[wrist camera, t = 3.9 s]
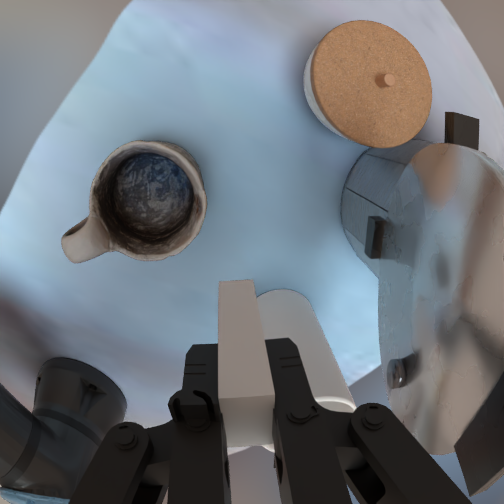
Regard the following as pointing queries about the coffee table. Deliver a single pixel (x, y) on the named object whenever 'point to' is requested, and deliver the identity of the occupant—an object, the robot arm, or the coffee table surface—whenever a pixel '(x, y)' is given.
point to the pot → (388, 186)
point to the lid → (447, 307)
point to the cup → (305, 346)
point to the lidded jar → (368, 84)
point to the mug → (141, 204)
